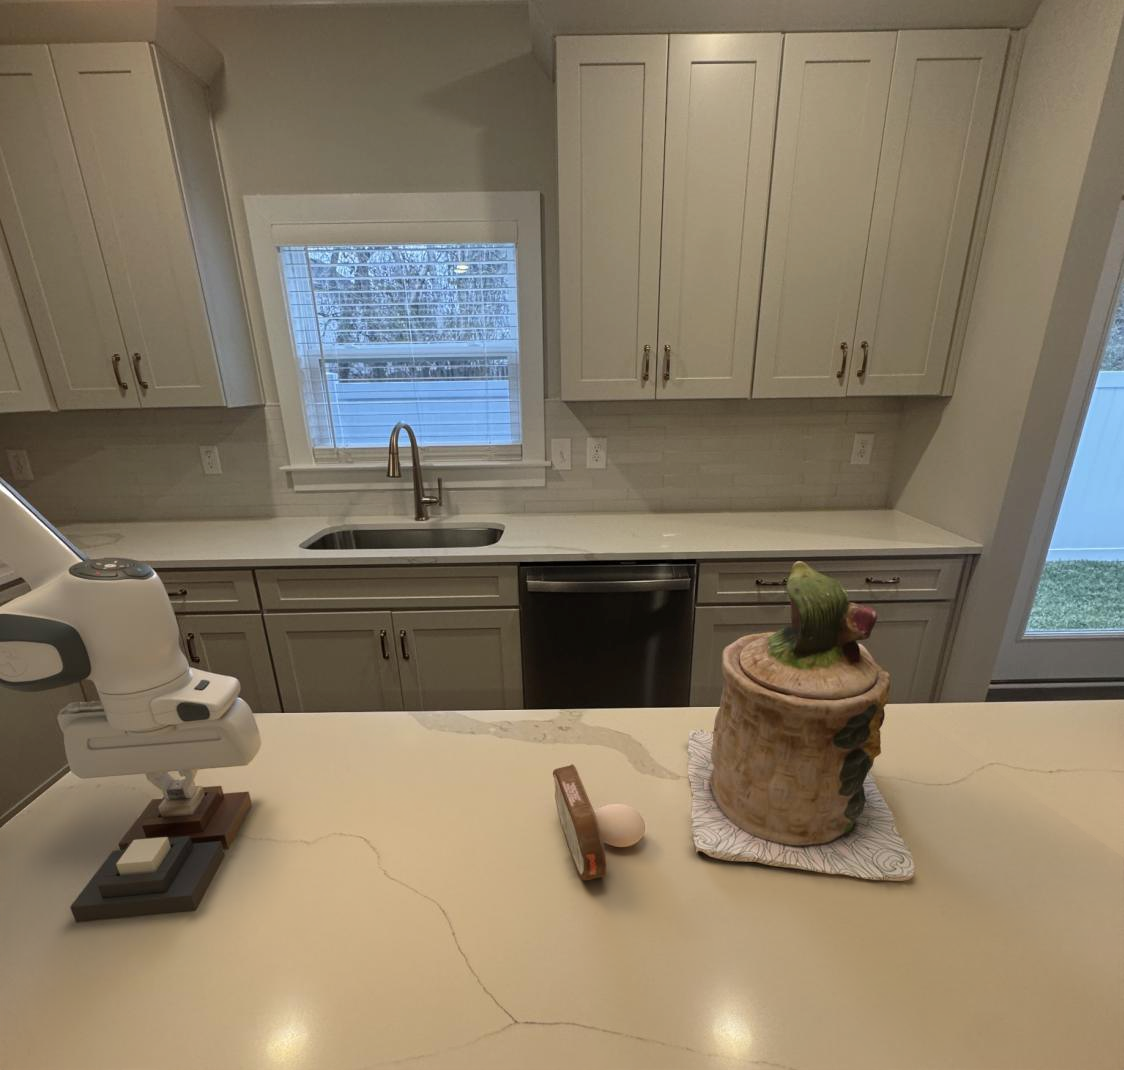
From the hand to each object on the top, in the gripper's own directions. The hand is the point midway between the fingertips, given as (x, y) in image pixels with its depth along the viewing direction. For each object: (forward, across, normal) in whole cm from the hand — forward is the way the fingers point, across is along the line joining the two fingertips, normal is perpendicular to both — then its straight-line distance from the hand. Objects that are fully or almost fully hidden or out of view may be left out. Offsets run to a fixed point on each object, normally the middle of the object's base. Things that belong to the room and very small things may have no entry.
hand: (181, 795), depth 75 cm
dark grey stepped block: (+5, 0, -9) cm, 10 cm away
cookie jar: (+6, +76, -5) cm, 76 cm away
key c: (+2, 0, -9) cm, 9 cm away
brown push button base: (+5, 0, 0) cm, 5 cm away
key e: (+2, 0, 0) cm, 2 cm away
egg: (+3, +56, -10) cm, 57 cm away
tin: (+6, +48, -9) cm, 49 cm away
